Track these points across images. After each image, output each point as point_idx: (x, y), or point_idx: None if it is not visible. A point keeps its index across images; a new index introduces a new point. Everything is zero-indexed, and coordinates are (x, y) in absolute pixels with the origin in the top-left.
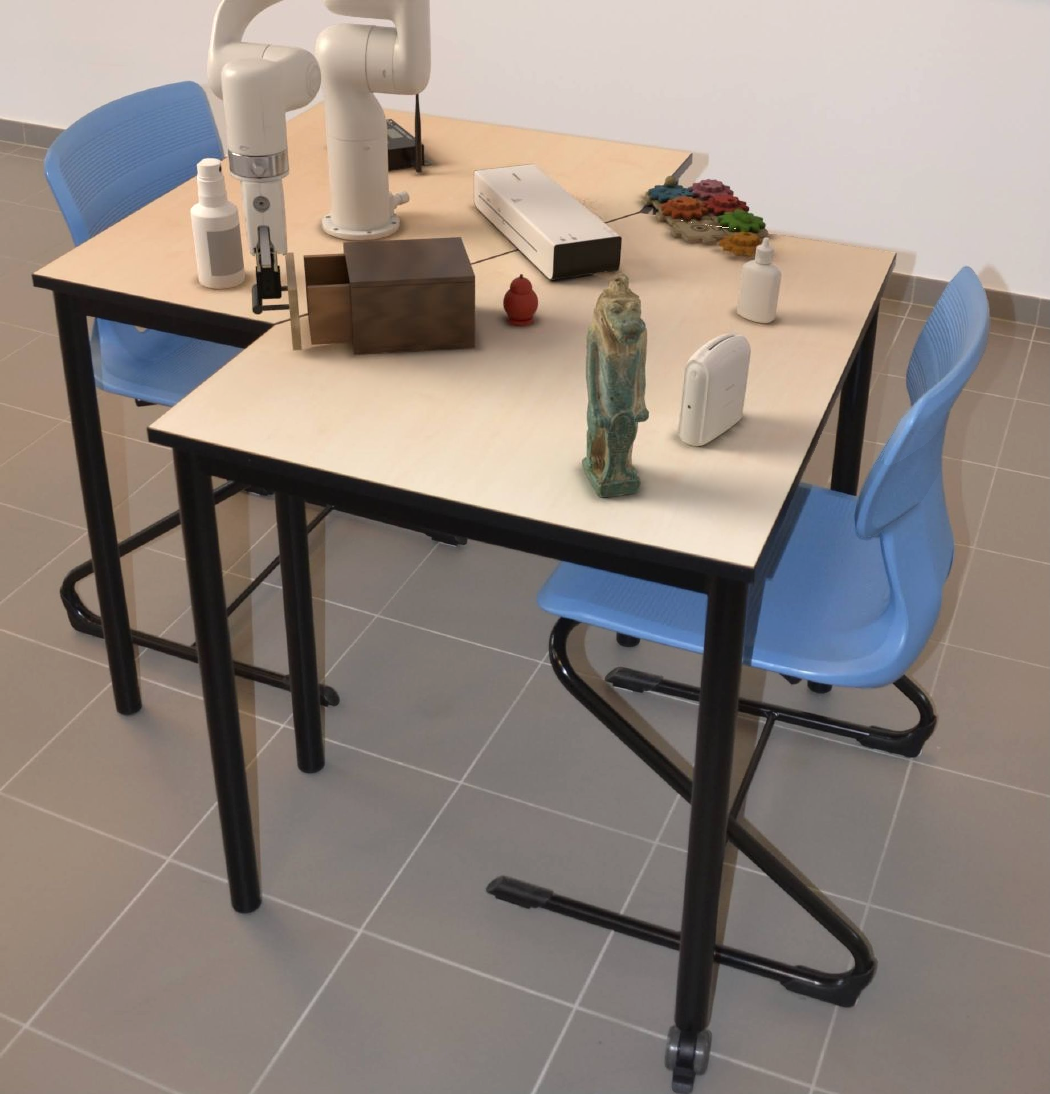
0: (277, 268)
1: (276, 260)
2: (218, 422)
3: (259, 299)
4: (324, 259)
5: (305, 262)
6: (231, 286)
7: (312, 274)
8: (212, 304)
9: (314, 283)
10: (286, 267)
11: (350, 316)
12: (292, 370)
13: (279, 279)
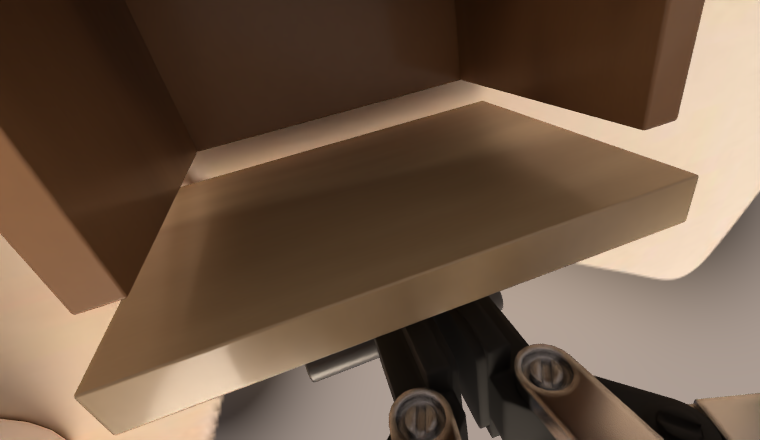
0: (577, 363)
1: (635, 417)
2: (707, 201)
3: None
4: (10, 108)
5: (136, 260)
6: (37, 427)
7: (138, 176)
8: (179, 411)
9: (151, 148)
10: (382, 333)
11: None
12: (547, 107)
13: (481, 308)
